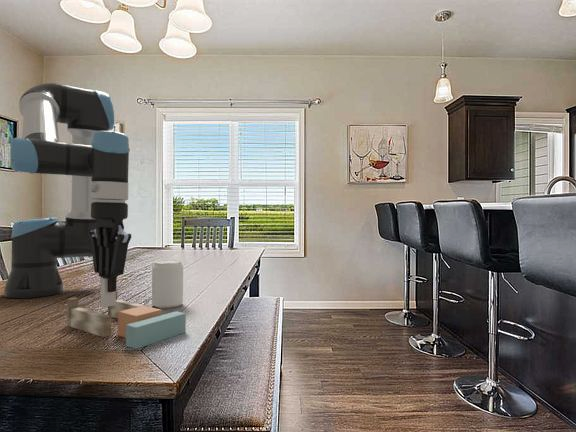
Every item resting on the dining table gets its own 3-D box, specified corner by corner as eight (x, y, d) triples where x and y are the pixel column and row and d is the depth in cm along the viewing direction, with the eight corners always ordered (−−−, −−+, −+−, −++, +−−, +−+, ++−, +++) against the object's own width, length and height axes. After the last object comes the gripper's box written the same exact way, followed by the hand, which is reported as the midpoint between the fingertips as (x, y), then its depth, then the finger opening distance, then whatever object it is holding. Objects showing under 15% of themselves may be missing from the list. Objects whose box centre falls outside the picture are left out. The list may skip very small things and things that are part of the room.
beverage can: (173, 310, 96) (174, 264, 96) (145, 308, 98) (146, 263, 98) (188, 302, 104) (188, 260, 104) (161, 301, 106) (162, 259, 106)
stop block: (125, 345, 70) (126, 324, 70) (175, 329, 80) (176, 311, 80) (135, 349, 68) (135, 327, 68) (185, 332, 78) (185, 313, 78)
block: (117, 335, 76) (118, 311, 76) (142, 328, 81) (143, 305, 81) (136, 341, 73) (136, 315, 73) (161, 333, 78) (161, 309, 78)
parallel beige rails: (67, 325, 82) (67, 298, 82) (113, 314, 91) (113, 290, 91) (103, 337, 75) (104, 307, 75) (150, 324, 84) (150, 297, 84)
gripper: (77, 200, 83) (75, 304, 84) (111, 201, 77) (109, 314, 77) (108, 201, 90) (107, 298, 90) (142, 202, 83) (140, 306, 83)
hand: (108, 305), depth 84 cm, fingers closed
